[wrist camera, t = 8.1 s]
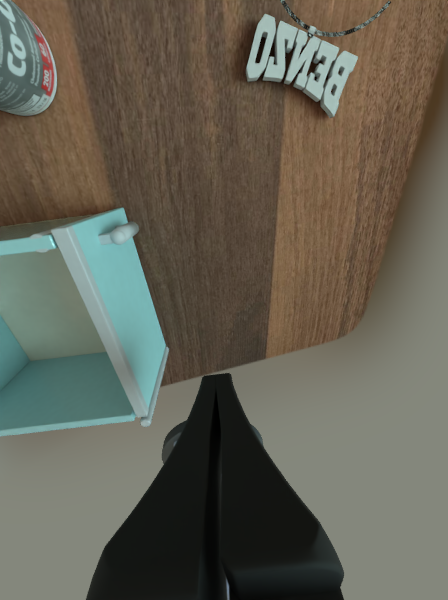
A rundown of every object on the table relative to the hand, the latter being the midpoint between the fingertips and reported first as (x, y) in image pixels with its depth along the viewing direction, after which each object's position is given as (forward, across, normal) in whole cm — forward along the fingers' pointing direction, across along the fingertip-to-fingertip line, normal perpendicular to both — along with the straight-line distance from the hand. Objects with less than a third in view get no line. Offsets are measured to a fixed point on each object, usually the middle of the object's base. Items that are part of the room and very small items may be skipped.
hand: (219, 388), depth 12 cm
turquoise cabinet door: (+9, +5, -2) cm, 10 cm away
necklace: (+9, -7, -15) cm, 19 cm away
